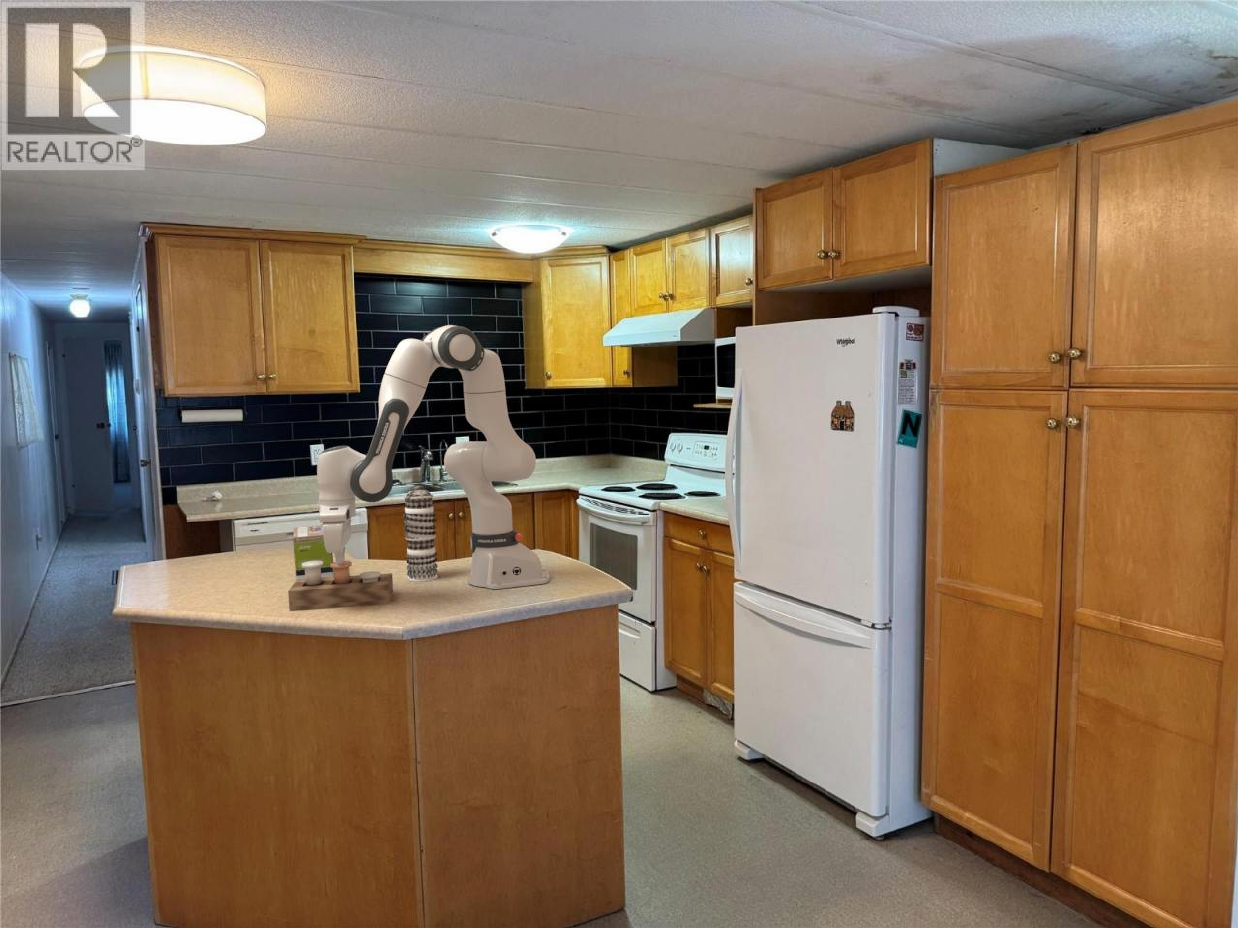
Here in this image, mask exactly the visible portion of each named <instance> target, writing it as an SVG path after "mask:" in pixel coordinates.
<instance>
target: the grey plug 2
mask: <svg viewBox="0 0 1238 928" xmlns="http://www.w3.org/2000/svg"><path fill="white" fill-rule="evenodd" d="M380 574H381V572H380V571H376V570H375V571H365V572H362V573H359V574H358V575H359V576H360V579H363V583H367V582H378V578H379V577H380V576H381V575H380Z"/></svg>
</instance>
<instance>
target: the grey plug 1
mask: <svg viewBox="0 0 1238 928" xmlns="http://www.w3.org/2000/svg"><path fill="white" fill-rule="evenodd" d="M321 566H323V561H307V562H304V563H302V568H305V580H306V585H317V584H320V583H322V582H321Z"/></svg>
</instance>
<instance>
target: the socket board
mask: <svg viewBox="0 0 1238 928" xmlns="http://www.w3.org/2000/svg"><path fill="white" fill-rule="evenodd" d="M359 575H360V574H357V575H350V583H349V584H336V585H335V584H334V577H323V578H321V582H322V583H320V584H317V585H306V580H305V579H298V580H297V581H295V582H294V583H293V584H292V585H291V587H290V588H289V590H288V592H287V593H288V605H289V607H288V608H289V611H304V610H305V611H306V610H318V609H320V610H321V609H330V608H331V609H332V608H345V607H347V608H348V607H362V606H374V605H375V606H376V605H389V604H390V603H391V599H392V596H393V593H394V581H393V573H391V572H390V573H380V575H381V576H380V577H379V578H378V582H367V583H363V579H360V576H359Z"/></svg>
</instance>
